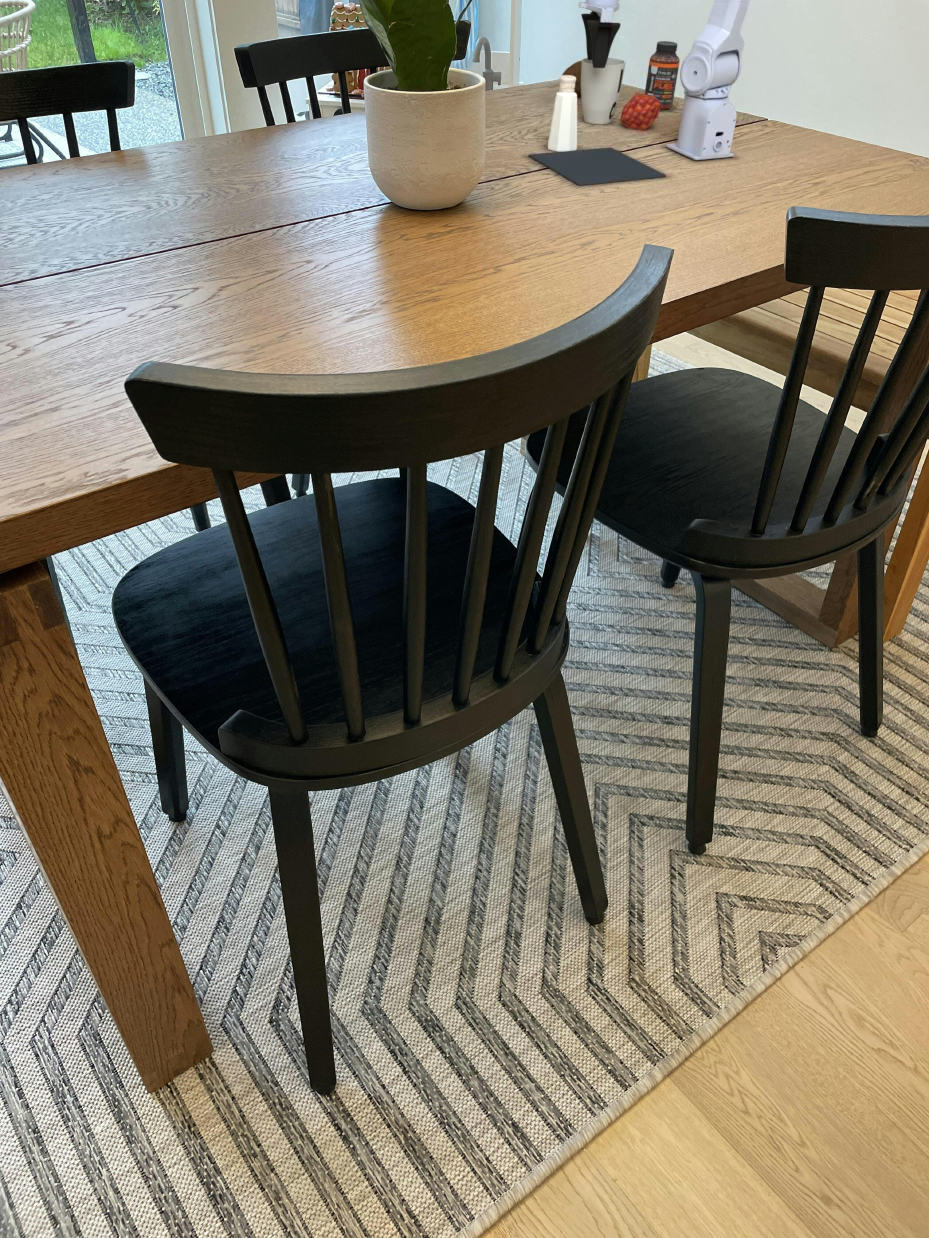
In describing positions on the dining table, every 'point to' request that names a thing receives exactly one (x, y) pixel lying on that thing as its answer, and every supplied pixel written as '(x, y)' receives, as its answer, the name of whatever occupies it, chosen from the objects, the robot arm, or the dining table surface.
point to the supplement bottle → (663, 73)
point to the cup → (600, 90)
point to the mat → (596, 166)
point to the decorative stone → (640, 111)
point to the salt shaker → (564, 117)
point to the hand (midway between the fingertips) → (596, 63)
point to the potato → (575, 75)
